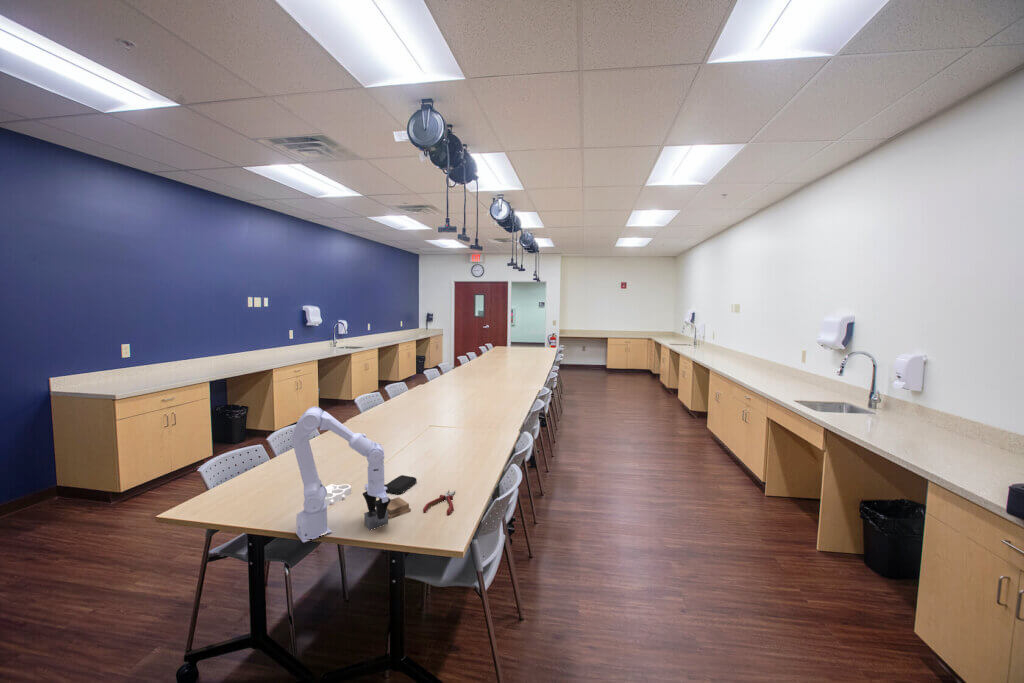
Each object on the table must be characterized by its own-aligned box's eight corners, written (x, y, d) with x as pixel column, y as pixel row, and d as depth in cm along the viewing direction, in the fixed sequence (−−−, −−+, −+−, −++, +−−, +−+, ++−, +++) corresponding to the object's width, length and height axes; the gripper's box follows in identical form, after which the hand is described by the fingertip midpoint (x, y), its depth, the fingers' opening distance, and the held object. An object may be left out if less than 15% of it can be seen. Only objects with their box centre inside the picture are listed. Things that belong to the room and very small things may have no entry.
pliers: (464, 494, 178) (464, 488, 178) (449, 517, 158) (449, 510, 158) (439, 491, 180) (439, 486, 179) (421, 514, 160) (421, 507, 160)
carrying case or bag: (398, 479, 191) (378, 492, 178) (398, 473, 191) (378, 485, 177) (418, 482, 188) (399, 496, 174) (418, 476, 188) (399, 489, 174)
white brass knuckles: (336, 487, 182) (358, 495, 175) (297, 503, 167) (319, 512, 159) (336, 480, 182) (358, 487, 174) (297, 495, 166) (319, 504, 159)
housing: (388, 524, 151) (388, 510, 151) (369, 531, 146) (369, 517, 146) (382, 519, 154) (382, 506, 154) (364, 526, 150) (364, 512, 149)
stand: (389, 519, 155) (389, 511, 154) (378, 510, 161) (378, 503, 161) (410, 511, 161) (410, 503, 161) (399, 503, 167) (399, 496, 167)
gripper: (395, 481, 147) (396, 518, 148) (377, 469, 157) (377, 504, 158) (377, 487, 142) (377, 525, 143) (359, 474, 152) (359, 510, 153)
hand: (376, 514), depth 150 cm, fingers open, 7 cm apart
